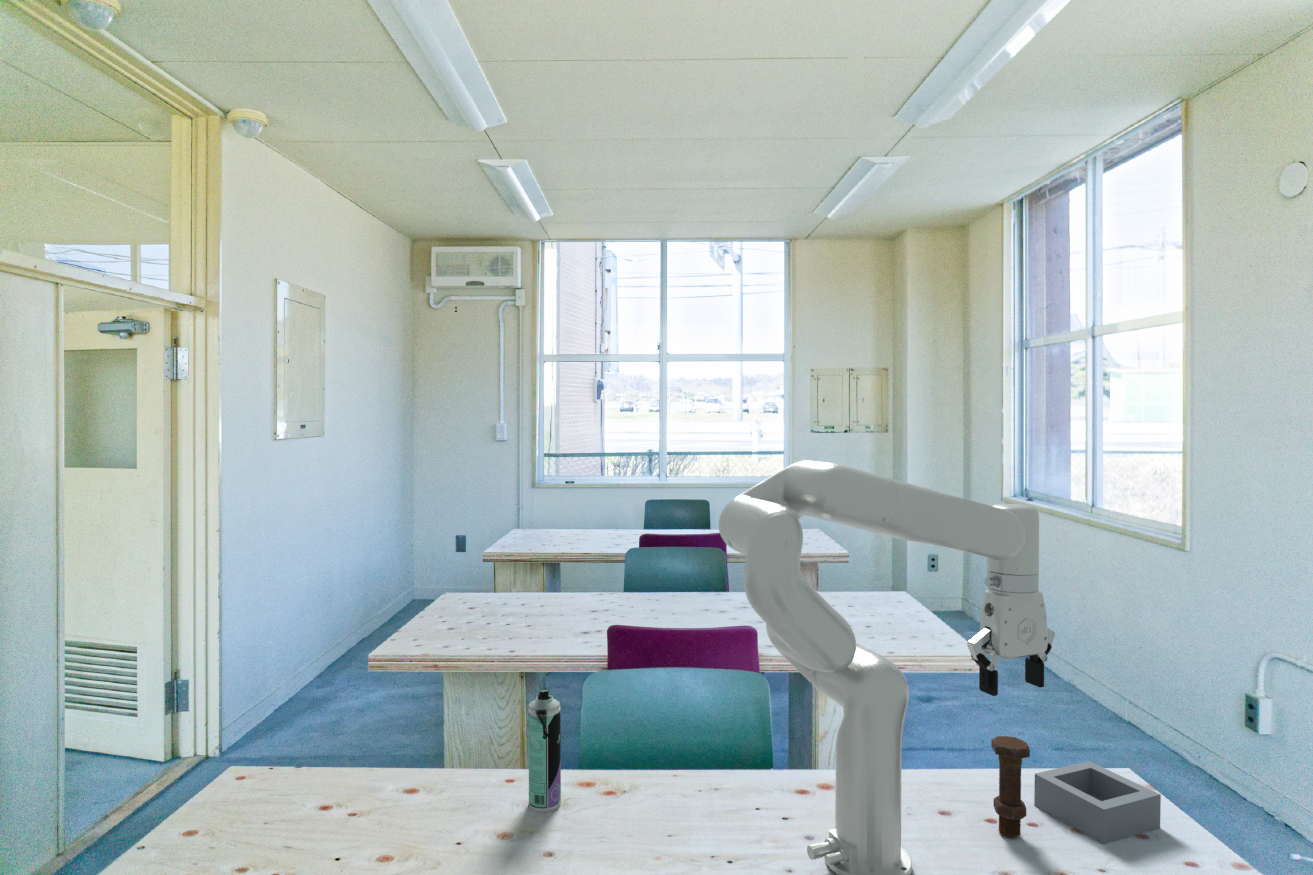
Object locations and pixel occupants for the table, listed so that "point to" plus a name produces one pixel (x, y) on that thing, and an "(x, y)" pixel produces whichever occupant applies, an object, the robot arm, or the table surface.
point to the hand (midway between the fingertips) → (1011, 688)
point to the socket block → (1097, 801)
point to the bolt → (1010, 784)
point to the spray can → (544, 753)
